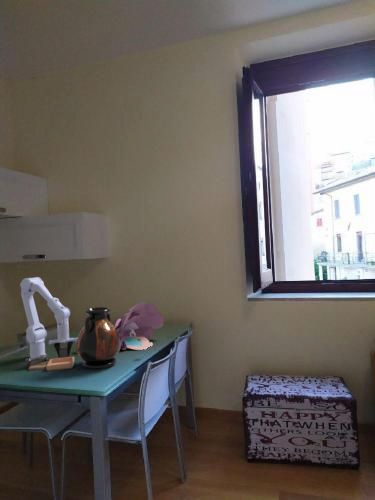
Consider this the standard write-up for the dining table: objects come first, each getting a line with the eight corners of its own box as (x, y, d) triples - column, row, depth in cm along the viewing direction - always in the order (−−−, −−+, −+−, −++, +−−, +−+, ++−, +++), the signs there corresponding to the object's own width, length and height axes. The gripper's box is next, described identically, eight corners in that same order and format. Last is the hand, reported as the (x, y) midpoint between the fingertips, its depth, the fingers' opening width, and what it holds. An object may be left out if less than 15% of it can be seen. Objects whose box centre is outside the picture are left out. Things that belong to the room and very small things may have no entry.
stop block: (60, 359, 186) (60, 347, 186) (68, 358, 187) (68, 347, 187) (59, 361, 182) (59, 349, 182) (67, 360, 183) (67, 349, 183)
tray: (50, 363, 178) (50, 358, 178) (74, 361, 181) (74, 356, 181) (46, 371, 167) (46, 365, 167) (71, 368, 169) (71, 363, 169)
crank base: (33, 363, 180) (33, 361, 180) (49, 361, 182) (49, 359, 182) (28, 370, 169) (27, 368, 169) (45, 368, 170) (45, 366, 170)
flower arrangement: (138, 363, 188) (143, 314, 184) (100, 353, 195) (104, 305, 191) (162, 341, 222) (167, 298, 218) (129, 332, 228) (133, 291, 224)
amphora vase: (94, 357, 187) (93, 305, 187) (129, 360, 179) (127, 306, 179) (67, 370, 167) (65, 312, 167) (105, 374, 159) (102, 313, 159)
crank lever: (43, 359, 183) (43, 352, 183) (48, 360, 181) (48, 353, 181) (23, 366, 172) (23, 359, 172) (28, 367, 171) (28, 360, 171)
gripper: (47, 333, 179) (48, 360, 179) (76, 331, 182) (77, 357, 182) (49, 331, 186) (50, 356, 186) (78, 328, 189) (78, 353, 189)
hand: (64, 356), depth 184 cm, fingers closed on stop block, 4 cm apart
